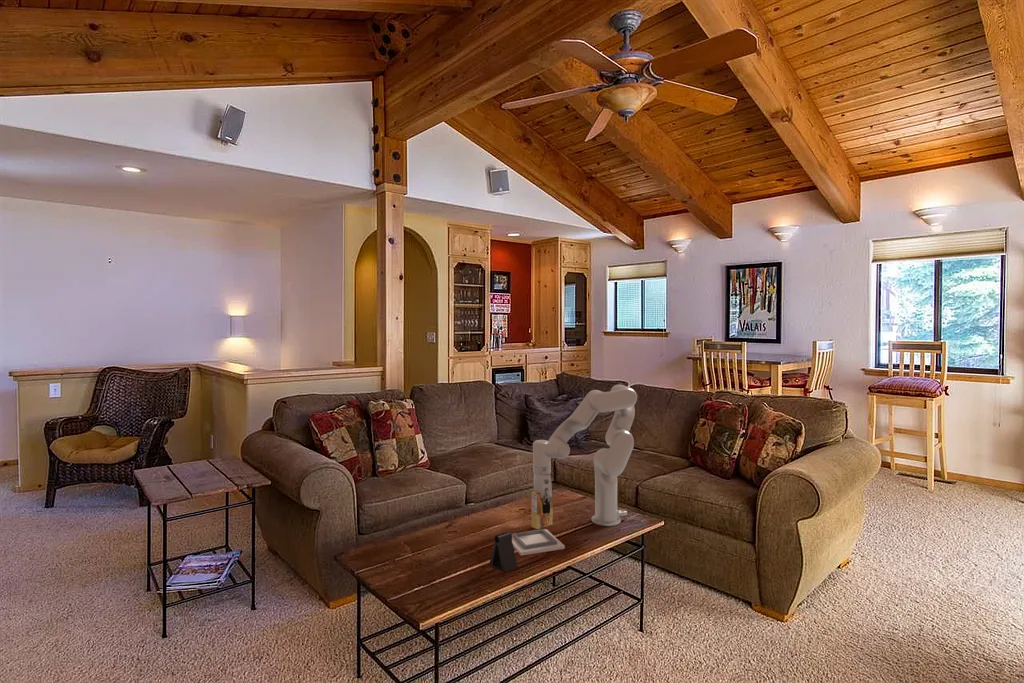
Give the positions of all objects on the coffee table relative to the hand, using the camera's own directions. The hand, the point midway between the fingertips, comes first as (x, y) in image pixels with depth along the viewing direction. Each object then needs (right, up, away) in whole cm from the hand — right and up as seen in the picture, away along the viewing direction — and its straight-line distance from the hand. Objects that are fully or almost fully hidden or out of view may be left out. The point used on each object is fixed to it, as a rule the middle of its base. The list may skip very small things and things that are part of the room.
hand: (542, 509), depth 250 cm
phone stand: (-16, -10, -38) cm, 42 cm away
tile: (-4, -8, -18) cm, 20 cm away
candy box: (0, -7, 0) cm, 7 cm away
